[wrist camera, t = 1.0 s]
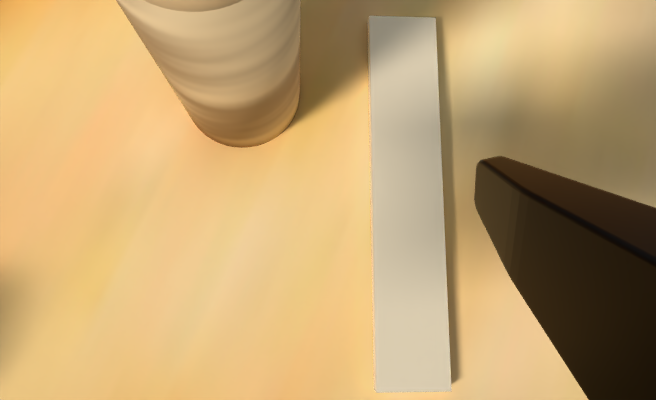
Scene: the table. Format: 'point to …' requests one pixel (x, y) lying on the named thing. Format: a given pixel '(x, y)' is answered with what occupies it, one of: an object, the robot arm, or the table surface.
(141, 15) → the skittle
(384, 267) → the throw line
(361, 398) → the table surface
